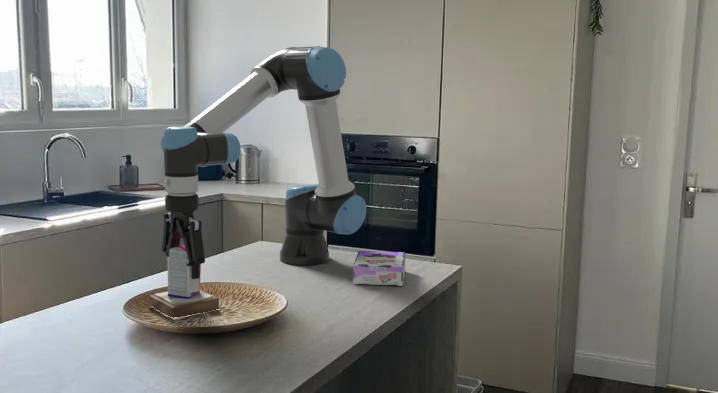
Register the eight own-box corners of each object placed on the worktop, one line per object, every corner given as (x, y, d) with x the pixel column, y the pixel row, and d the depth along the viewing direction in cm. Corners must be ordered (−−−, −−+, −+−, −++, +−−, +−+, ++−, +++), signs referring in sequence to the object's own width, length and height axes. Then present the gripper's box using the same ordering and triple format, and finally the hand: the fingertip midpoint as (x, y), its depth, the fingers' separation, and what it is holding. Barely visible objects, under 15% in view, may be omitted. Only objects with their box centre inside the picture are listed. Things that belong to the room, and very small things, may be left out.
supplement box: (190, 299, 167) (190, 251, 166) (167, 296, 169) (167, 249, 167) (201, 292, 173) (201, 246, 171) (179, 290, 174) (179, 244, 172)
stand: (148, 307, 172) (148, 293, 171) (193, 298, 180) (193, 285, 179) (173, 320, 163) (172, 306, 162) (219, 310, 171) (218, 296, 170)
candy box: (405, 251, 208) (404, 265, 192) (405, 271, 209) (403, 287, 193) (358, 249, 209) (352, 263, 193) (358, 269, 210) (352, 285, 194)
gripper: (145, 189, 172) (148, 279, 176) (190, 201, 157) (192, 300, 160) (173, 186, 177) (175, 274, 181) (220, 198, 161) (221, 294, 165)
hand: (183, 286), depth 171 cm, fingers open, 9 cm apart
